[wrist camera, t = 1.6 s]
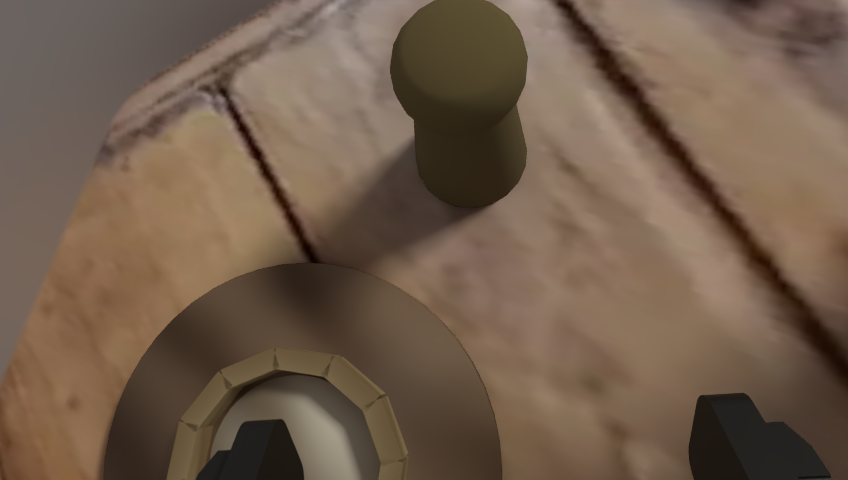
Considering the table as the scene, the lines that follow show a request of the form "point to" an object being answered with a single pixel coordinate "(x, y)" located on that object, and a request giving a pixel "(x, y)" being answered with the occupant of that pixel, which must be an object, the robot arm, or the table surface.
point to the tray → (308, 383)
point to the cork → (463, 98)
